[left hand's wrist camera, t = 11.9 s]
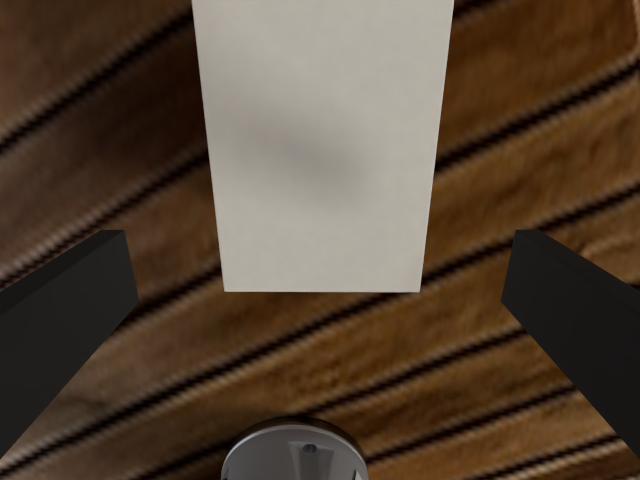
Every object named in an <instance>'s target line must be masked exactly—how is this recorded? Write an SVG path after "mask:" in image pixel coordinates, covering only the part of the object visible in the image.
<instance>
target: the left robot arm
mask: <svg viewBox="0 0 640 480" xmlns="http://www.w3.org/2000/svg"><path fill="white" fill-rule="evenodd" d="M138 302H139V298H138V293H137V288H136V283H135V279H134V274H133V269H132V265H131V260H130V255H129V250H128V246H127V241H126V236H125V231H124V230H100V231H99V232H97V233H95V234H94V235H92V236H91V237H89V238H87V239H86V240H84V241H82V242H81V243H79V244H78V245H76V246H74V247H73V248H71V249H69V250H68V251H66V252H64V253H63V254H61V255H60V256H58V257H56V258H55V259H53V260H51V261H50V262H48V263H47V264H45V265H43V266H42V267H40V268H38V269H37V270H35V271H33V272H32V273H30V274H29V275H27V276H25V277H24V278H22V279H20V280H19V281H17V282H16V283H14V284H12V285H11V286H9V287H7V288H6V289H4V290H2V291H1V292H0V459H1V458H2V457H3V456H4V454H5V453H6V452H7V451H8V450H9V449H10V448H11V446H12V445H13V444H14V443H15V442H16V441H17V440H18V439H19V437H20V436H21V435H22V434H23V433H24V432H25V431H26V429H27V428H28V427H29V426H30V425H31V424H32V423H33V421H34V420H35V419H36V418H37V417H38V416H39V415H40V414H41V412H42V411H43V410H44V409H45V408H46V407H47V406H48V404H49V403H50V402H51V401H52V400H53V399H54V398H55V396H56V395H57V394H58V393H59V392H60V391H61V390H62V389H63V387H64V386H65V385H66V384H67V383H68V382H69V381H70V379H71V378H72V377H73V376H74V375H75V374H76V373H77V371H78V370H79V369H80V368H81V367H82V366H83V365H84V364H85V362H86V361H87V360H88V359H89V358H90V357H91V356H92V354H93V353H94V352H95V351H96V350H97V349H98V348H99V346H100V345H101V344H102V343H103V342H104V341H105V340H106V338H107V337H108V336H109V335H110V334H111V333H112V332H113V331H114V329H115V328H116V327H117V326H118V325H119V324H120V323H121V321H122V320H123V319H124V318H125V317H126V316H127V315H128V313H129V312H130V311H131V310H132V309H133V308H134V307H135V306H136V304H137V303H138ZM501 302H502V303H503V304H504V306H505V307H506V308H507V309H508V310H509V311H510V312H511V313H512V315H513V316H514V317H515V318H516V319H517V320H518V321H519V323H520V324H521V325H522V326H523V327H524V328H525V329H526V331H527V332H528V333H529V334H530V335H531V336H532V337H533V338H534V340H535V341H536V342H537V343H538V344H539V345H540V346H541V348H542V349H543V350H544V351H545V352H546V353H547V354H548V356H549V357H550V358H551V359H552V360H553V361H554V362H555V364H556V365H557V366H558V367H559V368H560V369H561V370H562V371H563V373H564V374H565V375H566V376H567V377H568V378H569V379H570V381H571V382H572V383H573V384H574V385H575V386H576V387H577V389H578V390H579V391H580V392H581V393H582V394H583V395H584V396H585V398H586V399H587V400H588V401H589V402H590V403H591V404H592V406H593V407H594V408H595V409H596V410H597V411H598V412H599V414H600V415H601V416H602V417H603V418H604V419H605V420H606V421H607V423H608V424H609V425H610V426H611V427H612V428H613V429H614V431H615V432H616V433H617V434H618V435H619V436H620V437H621V439H622V440H623V441H624V442H625V443H626V444H627V445H628V446H629V448H630V449H631V450H632V451H633V452H634V453H635V454H636V456H637V457H638V458H639V459H640V292H639V291H638V290H636V289H634V288H633V287H631V286H629V285H628V284H626V283H624V282H623V281H621V280H620V279H618V278H616V277H615V276H613V275H611V274H610V273H608V272H607V271H605V270H603V269H602V268H600V267H598V266H597V265H595V264H593V263H592V262H590V261H589V260H587V259H585V258H584V257H582V256H580V255H579V254H577V253H576V252H574V251H572V250H571V249H569V248H567V247H566V246H564V245H562V244H561V243H559V242H558V241H556V240H554V239H553V238H551V237H549V236H548V235H546V234H545V233H543V232H541V231H540V230H516V231H515V236H514V241H513V246H512V250H511V255H510V260H509V265H508V269H507V274H506V279H505V283H504V288H503V293H502V298H501ZM221 480H368V470H367V463H366V458H365V455H364V453H363V451H362V449H361V448H360V446H359V445H358V444H357V442H356V441H355V440H354V439H353V438H352V437H351V436H349V435H348V434H347V433H345V432H344V431H342V430H341V429H339V428H337V427H335V426H333V425H330V424H328V423H325V422H322V421H318V420H314V419H308V418H279V419H274V420H269V421H266V422H262V423H260V424H257V425H255V426H253V427H251V428H249V429H247V430H246V431H244V432H243V433H242V434H240V435H239V436H238V437H237V438H236V439H235V440H234V441H233V443H232V444H231V445H230V447H229V449H228V451H227V453H226V457H225V460H224V464H223V468H222V474H221Z"/></svg>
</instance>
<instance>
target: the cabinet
mask: <svg viewBox="0 0 640 480" xmlns="http://www.w3.org/2000/svg"><path fill="white" fill-rule="evenodd" d="M453 5H454V0H192V8H193V17H194V25H195V34H196V43H197V52H198V61H199V70H200V79H201V88H202V97H203V106H204V115H205V123H206V132H207V141H208V150H209V159H210V168H211V177H212V186H213V195H214V204H215V213H216V221H217V230H218V239H219V248H220V257H221V266H222V275H223V284H224V291H225V292H419V291H420V284H421V275H422V267H423V258H424V250H425V241H426V233H427V224H428V216H429V208H430V199H431V191H432V182H433V174H434V165H435V157H436V148H437V140H438V131H439V123H440V115H441V106H442V98H443V89H444V81H445V72H446V64H447V55H448V47H449V38H450V30H451V22H452V13H453Z"/></svg>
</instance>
